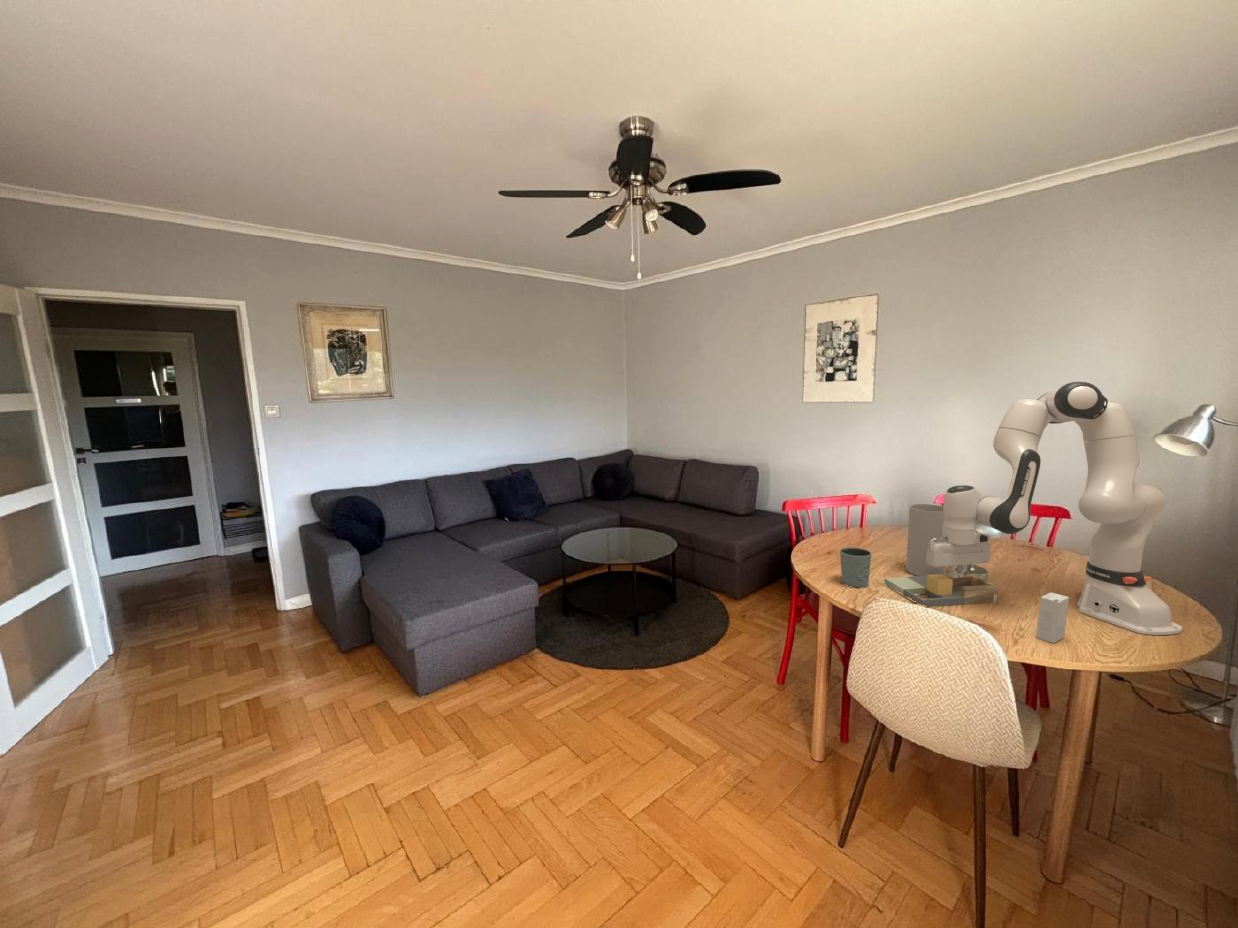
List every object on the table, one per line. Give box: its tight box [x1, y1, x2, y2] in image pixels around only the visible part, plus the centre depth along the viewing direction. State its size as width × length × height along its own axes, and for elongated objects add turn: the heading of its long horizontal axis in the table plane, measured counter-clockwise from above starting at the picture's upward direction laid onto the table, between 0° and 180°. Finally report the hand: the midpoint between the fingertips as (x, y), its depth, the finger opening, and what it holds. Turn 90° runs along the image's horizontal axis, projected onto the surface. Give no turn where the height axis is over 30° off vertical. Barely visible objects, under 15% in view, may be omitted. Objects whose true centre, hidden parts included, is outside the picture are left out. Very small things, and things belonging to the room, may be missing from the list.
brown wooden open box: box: [946, 573, 998, 605], centre depth 163 cm, size 10×11×5 cm
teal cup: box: [839, 546, 872, 588], centre depth 177 cm, size 10×10×12 cm
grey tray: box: [884, 573, 997, 608], centre depth 167 cm, size 19×26×2 cm
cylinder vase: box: [905, 503, 947, 576], centre depth 183 cm, size 12×12×25 cm
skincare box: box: [1035, 592, 1070, 644], centre depth 135 cm, size 6×4×12 cm
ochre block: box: [926, 574, 953, 595], centre depth 162 cm, size 5×5×5 cm
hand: (957, 577), depth 160 cm, fingers closed
